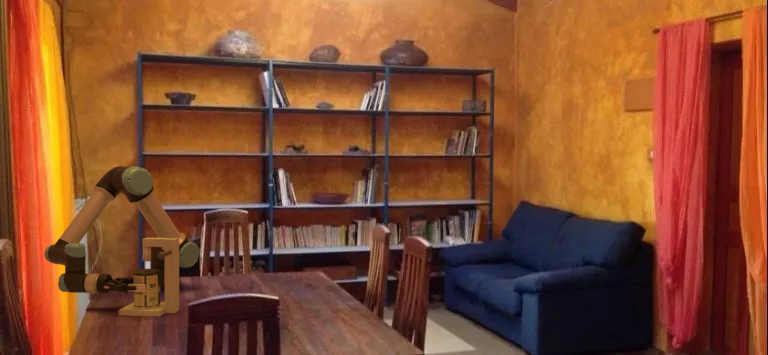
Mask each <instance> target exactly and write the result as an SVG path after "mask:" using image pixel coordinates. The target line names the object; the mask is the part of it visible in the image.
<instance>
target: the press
mask: <svg viewBox="0 0 768 355" xmlns="http://www.w3.org/2000/svg"><path fill="white" fill-rule="evenodd" d="M141 240H142V261H143V262H145V263H146V262H150V261H151V247H165V252H160V253H159V254H158V257H159V258H160V259H164V258H165V289H164V301H160V304H161V305H160V306H159V307H155V308H149V309H138V308H134V301H133V302H132V303H129V304H128V305H126V306H124V307H122V308H120V309H118V316H126V317H127V316H131V317H132V316H135V317H161V316H162V315H164V314H176V313H177V312H179V311H180V286H179V278H180V267H179V238H158V237H144V238H142V239H141Z"/></svg>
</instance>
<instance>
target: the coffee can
mask: <svg viewBox="0 0 768 355" xmlns="http://www.w3.org/2000/svg"><path fill="white" fill-rule="evenodd" d="M132 273H133V274H132V277H133V284H146V291H145V292H134V291H133V302H134V308H138V309H149V308H155V307H159V306H160V305H161V304H160V302H161V289H160V270H159V269H150V268H141V269H135V270H133V271H132Z"/></svg>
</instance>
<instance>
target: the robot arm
mask: <svg viewBox="0 0 768 355" xmlns="http://www.w3.org/2000/svg"><path fill="white" fill-rule="evenodd" d="M153 182H154V180H153V176H152V174H151V172H149V171H148V170H147V169H146V168H144V167H140V166H135V165H134V166H123V165H118V166H115V167H112V168H111V169H109V170H108V171H107V172H106V173H105V174H104V175H102V177H100V179H99V180H98V182H97V183H96V184H95V185H94V187H93V193H92V194H91V195H90V196H89V198H88V199H87V200H86V201H85V203H84V205H82V207H81V209H79V211H78V213H77V214H76V215H75V216H74V218H73V220H72V221H71V222H69V225H68V226H67V228H66V229H65V230H64V232H63V233H62V234H61V235H60V236H59V238H58V239H57V241H56V242H54V244H50V245H49V246H47V247H46V248H45V250H44V258H45V259H46V261H47V262H49V263H51V264H54V265H62V266H63V267H64V273H61V274H60V275H59V277H58V281H57V286H58V289H59V291H61V292H62V293H63V292H64V293H71V294H76V293H78V294H81V293H82V294H83V293H84V294H86V293H87V294H88V293H90V294H91V295H94V294H97V293H99V294H108V293H110V292H117V293H122V294H123V293H124V294H128V293H129V292H133V293H134V292H145V291H146V284H133V276H131V277H130V276H129V277H120V276H119V277H115V278H113V276H112V275H111V274H109V273H86V266H87V265H86V264H87V263H86V257H87V256H86V255H87V251H86V245H85V243H82V242H81V241H82V240H83V238H85V236H86V234H87V233H88V232H89V230H90V229H91V228H92V226H93V225H94V223H95V222H96V221H97V219H98V218H99V217H100V215H101V214H102V213H103V211H104V210H105V208H106V207H107V205H108V204H109V203H110V202H112V201H114V200H115V199H116V198H117V197H118V195H120V194H123V195H124V196H125V197H126V199H127V200H128V202H129V203H130V204H135V205H136V207H137V208H138V210H139V211H140V213H141V214H142V216H143V217H144V218H145V220H146V221H147V223H148V224H149V226H150V227H151V228H152V230H153V232H154V233H155V234H156V236H157V238H179V268H182V269H183V268H184V269H186V268H191V267H193V266H194V265H195V264H196V263H197V262H198V259H199V255H200V247H199V246H198V244H197V243H195V242H193V241H190V240H189V238H188V237H187V235H186V234H185V233H184V232H180V231H179V229H178V228H177V227H176V226H175V224H174V222H173V221H172V220H171V218H170V216H169V215H168V213H167V212H166V210H165V209H164V207H163V206H162V204H161V202H160V201H159V200H158V198H157V196H156V195H155V194H154V191H155V187H154V184H153ZM160 252H165V247H151V261H149V263H150V264H149V265H150V267H149V269H159V270H160V290H163V289H164V290H165V258H164V259H160V258H159V257H158V254H159V253H160ZM180 286H181V278H180V277H179V287H180Z"/></svg>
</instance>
